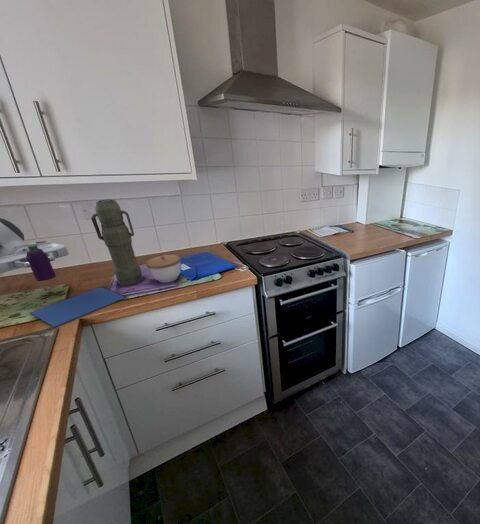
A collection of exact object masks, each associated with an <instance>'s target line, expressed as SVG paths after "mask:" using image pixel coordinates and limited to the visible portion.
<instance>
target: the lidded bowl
mask: <svg viewBox="0 0 480 524" xmlns="http://www.w3.org/2000/svg"><path fill="white" fill-rule="evenodd" d="M145 264H146V265H145V266H146V267H147V270H148V273H149V274H150V276H151V277H152V278H153V279H154V280H156V281H158V282H159V283H163V284H166V283H171V282H175V281H176V280H177V279H179V278H178V277H179V276H180V275H181V272H182V262H181V256H179V255H176V254H164V255H162V254H161V255H159V256H154V257H152V258H150V259H148V260H147V261H146V262H145Z"/></svg>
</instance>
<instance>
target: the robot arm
mask: <svg viewBox="0 0 480 524" xmlns="http://www.w3.org/2000/svg"><path fill="white" fill-rule="evenodd" d="M30 245H37V247H38V248H39V249H41V250H43V251H44V252H45V253H46V254H47V256H48V258H49V261H50V262H53V261H56V259H59V258H63V257H67V256H68V255H69V254H70V253H69V250H68V248H67V246H66V245H64V244H61V243H58V242H52V241H51V240H43V241H33V242H32V241H31V242H30V241H29V242H25V235H24V232H23V231H22V230H21V229H20V228H19V227H18V226H17V225H16V224H14V223H12V222H11V221H9V220H8V219H5V218H2V217H0V274H3V273H6V272H10V271H11V272H12V271H14V270H18V269H23V268H24V269H27V268H31V265H30V262H28V261H27V259H26V256H27V252H28V250H29V248H28V246H30Z"/></svg>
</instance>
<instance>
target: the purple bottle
mask: <svg viewBox="0 0 480 524" xmlns="http://www.w3.org/2000/svg"><path fill="white" fill-rule="evenodd" d="M28 248H29V250H28V252H27V256H26V259H27V261H28V262H30V265H31V267H30V269H31V271H32V273H33V276H34V278H35V280H36V281H37V282H45V281H49V280H52V279H54V278H56V277H57V275H56V272H55V270H54V268H53V266H52V263H51V261H49V258H48V256H47V254H46V253H45V252H44V251H43V250H41V249H39V248H38V247H37V245H30V246H28Z"/></svg>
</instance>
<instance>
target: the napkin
mask: <svg viewBox="0 0 480 524" xmlns="http://www.w3.org/2000/svg"><path fill="white" fill-rule="evenodd" d="M124 299H126V296H124V295H121V294H119V293H117V292H114V291H111V290H109V289H107V288H105V287H102V286H100V287H97V288H95V289H91V290H89V291H86V292H83V293H80V294H78V295H75V296H72V297H69V298H66V299H64V300H61V301H58V302H56V303H53V304H50V305H48V306H47V305H46V306H44V307H42V308H40V309H35V310H33V311H31V312H30V314H31V315H32V316H34V317H36V318H38V319H39V320H41V321H43V322H44V323H45V324H48V325H49V326H51V327H53V328H57V327H60V326H61V325H64V324H66V323H68V322H71V321H73V320H77V319H78V318H81V317H84V316H85V315H88V314H91V313H93V312H96V311H98V310H100V309H102V308H105V307H107V306H110V305H112V304H115V303H117V302H119V301H122V300H124Z"/></svg>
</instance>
